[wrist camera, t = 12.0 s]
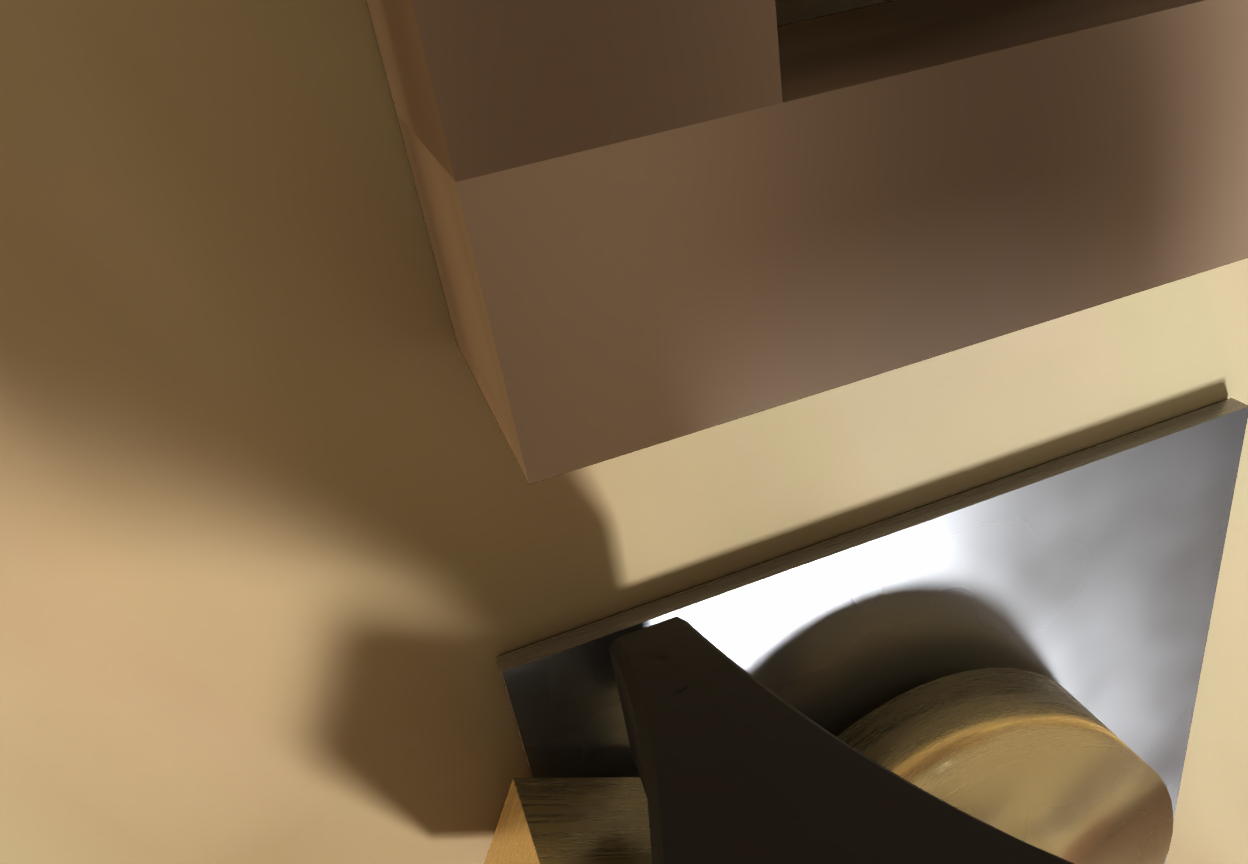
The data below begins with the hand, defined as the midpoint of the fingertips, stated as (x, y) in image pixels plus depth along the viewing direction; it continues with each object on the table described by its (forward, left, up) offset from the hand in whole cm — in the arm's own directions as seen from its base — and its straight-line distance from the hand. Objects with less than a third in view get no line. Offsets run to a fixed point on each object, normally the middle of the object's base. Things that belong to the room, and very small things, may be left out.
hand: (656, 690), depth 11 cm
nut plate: (-4, +5, -1) cm, 6 cm away
